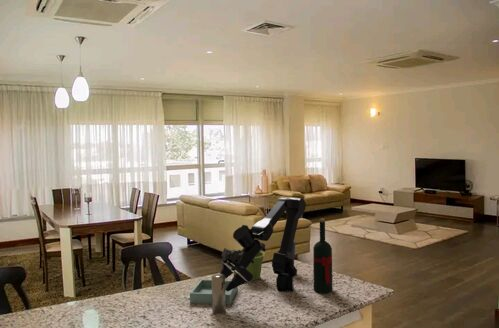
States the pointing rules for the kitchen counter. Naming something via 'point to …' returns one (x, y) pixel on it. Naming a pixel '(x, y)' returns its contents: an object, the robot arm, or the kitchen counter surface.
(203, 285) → the tray
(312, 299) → the kitchen counter surface
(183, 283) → the kitchen counter surface
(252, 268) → the plant pot
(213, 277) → the canister
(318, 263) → the wine bottle
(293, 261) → the cup
